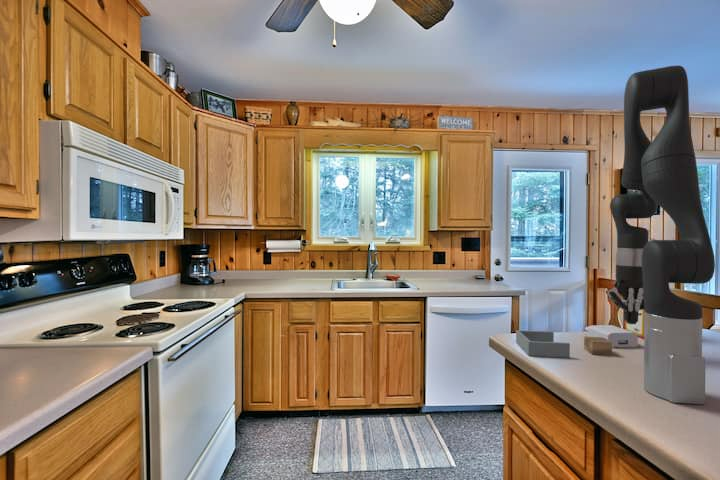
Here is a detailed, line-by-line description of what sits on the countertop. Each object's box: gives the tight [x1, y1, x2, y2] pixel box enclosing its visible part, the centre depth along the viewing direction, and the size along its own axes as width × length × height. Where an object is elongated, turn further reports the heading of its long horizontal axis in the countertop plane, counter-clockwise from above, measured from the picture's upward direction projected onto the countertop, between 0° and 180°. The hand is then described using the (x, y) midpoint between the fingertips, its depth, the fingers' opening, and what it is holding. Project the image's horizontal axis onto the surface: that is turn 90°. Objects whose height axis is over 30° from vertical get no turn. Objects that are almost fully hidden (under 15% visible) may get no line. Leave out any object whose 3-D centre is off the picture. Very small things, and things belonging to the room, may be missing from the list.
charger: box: [584, 324, 639, 349], centre depth 111 cm, size 5×9×15 cm
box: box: [515, 329, 571, 359], centre depth 102 cm, size 12×11×4 cm
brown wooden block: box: [583, 335, 613, 357], centre depth 100 cm, size 5×5×4 cm
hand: (631, 323), depth 99 cm, fingers closed
